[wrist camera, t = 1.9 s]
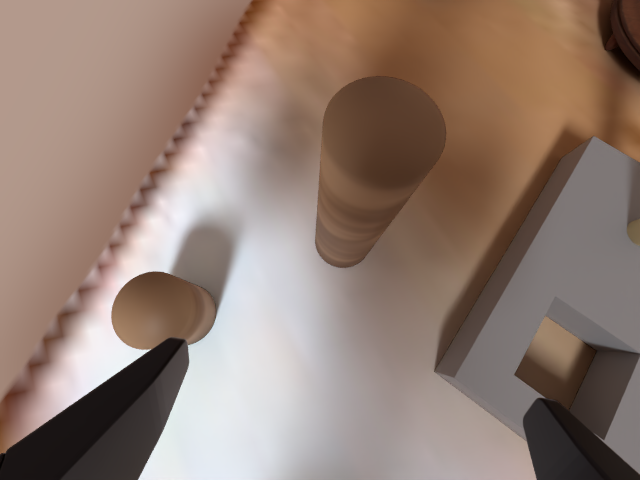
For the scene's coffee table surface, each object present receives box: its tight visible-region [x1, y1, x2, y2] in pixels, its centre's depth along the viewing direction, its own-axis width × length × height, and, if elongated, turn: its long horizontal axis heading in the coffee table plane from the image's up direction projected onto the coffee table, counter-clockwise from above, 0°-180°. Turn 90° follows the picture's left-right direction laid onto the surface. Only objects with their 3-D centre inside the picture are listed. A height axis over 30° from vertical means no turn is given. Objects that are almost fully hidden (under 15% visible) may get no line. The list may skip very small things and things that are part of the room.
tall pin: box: [315, 76, 446, 268], centre depth 17 cm, size 4×4×14 cm
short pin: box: [111, 272, 216, 349], centre depth 19 cm, size 4×4×5 cm
